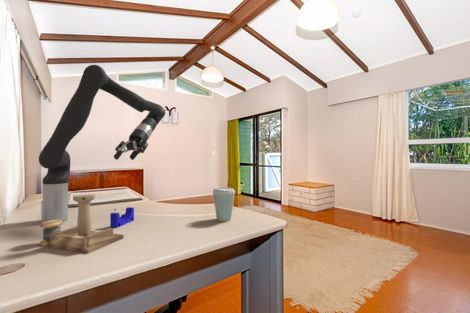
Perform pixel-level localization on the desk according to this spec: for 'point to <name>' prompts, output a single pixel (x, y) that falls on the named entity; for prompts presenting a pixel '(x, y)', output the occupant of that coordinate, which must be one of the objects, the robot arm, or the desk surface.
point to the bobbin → (49, 230)
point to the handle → (84, 213)
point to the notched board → (90, 249)
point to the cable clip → (121, 218)
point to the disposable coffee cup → (223, 202)
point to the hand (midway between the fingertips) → (123, 158)
